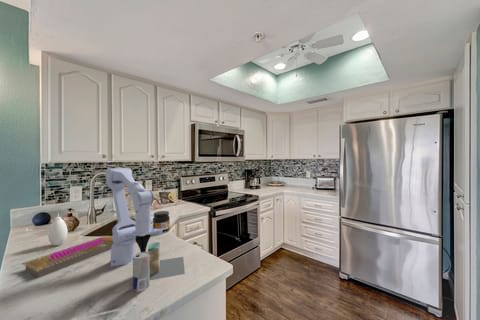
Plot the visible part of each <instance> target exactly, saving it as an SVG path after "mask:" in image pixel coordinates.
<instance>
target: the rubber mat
mask: <svg viewBox="0 0 480 320" xmlns="http://www.w3.org/2000/svg"><path fill="white" fill-rule="evenodd" d="M185 273H186V272H185V261H184V256H180V257H173V258H167V259H160V267H159V272H158V273H152V274H150V281H152V280H153V281H154V280H158V279H164V278H170V277H173V276H174V277H175V276H180V275H184V274H185Z"/></svg>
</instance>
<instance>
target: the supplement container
mask: <svg viewBox="0 0 480 320" xmlns="http://www.w3.org/2000/svg"><path fill="white" fill-rule="evenodd" d="M170 219H171V217H170V212H169V211H168V210H160V211H156V212H153V218H152V229H161V228H162V233H165V232H168V231H169V230H170V229H171V226H170V225H171V224H170V221H171V220H170Z"/></svg>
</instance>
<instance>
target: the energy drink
mask: <svg viewBox="0 0 480 320" xmlns="http://www.w3.org/2000/svg"><path fill="white" fill-rule="evenodd" d="M150 283H151V280H150V264H149V253H148V251H146V252H141V251H140V252H137V253H135V255H134V257H133V262H132V290H133V292H136V293H137V292H138V293H139V292H143V291H145V290H148V289H149V287H150V286H151V285H150Z"/></svg>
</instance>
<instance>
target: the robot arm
mask: <svg viewBox="0 0 480 320" xmlns="http://www.w3.org/2000/svg"><path fill="white" fill-rule="evenodd" d="M105 180H106V185H107V187H108V188H109V189H111V192H112V198H113V203H114V208H115V212H116V213H115V214H116V218H117V219H116V220H117V223H116V224H115V225H114V226H113V227H112V230H111V231H112V236H111V237H112V238H113V242H114V244H113V245H112V247H111V249H110V266H109V267H118V266H122V265H130V264H133V257H134V255H135V254H136V244H137V245H138V247H139V248H138V249H139V250H140V252H147V248H148V247H147V246H148V243H149V241H150V238H151V236H154V235H159V236H161V235H163V232H162V228H161V229H153V228H152V208H151V207H152V204H153V203H154V200H155V198H154V193H153V192H152V190H151V189H149V190H148V189H145V187H144V186H143V185H142V184H141V183H140V182H139V181H137V180H136V181H135V179H134V178H133V170H132V169H131V168H130V167H120V168H118V167H115V168H111V167H108V168H107V169H106V171H105ZM125 187H126V190H127V192H128V194H129V196H131V198H132V199H131V200H132V204H133V210H134V211H135V214H134V216H135V218H134V219H135V220H133V219H132V218H131V217H130V212H129V208H128V202H127V198H126V193H125Z"/></svg>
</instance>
